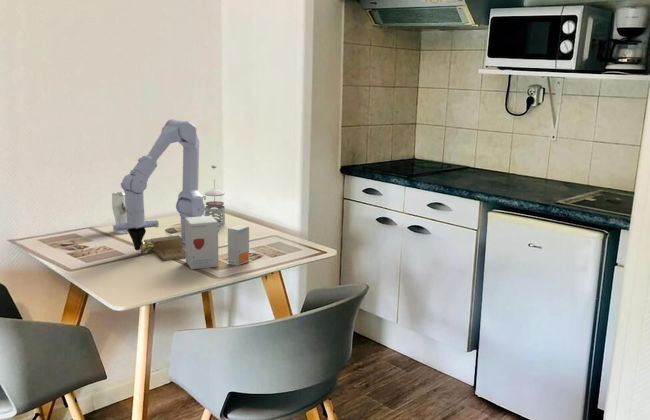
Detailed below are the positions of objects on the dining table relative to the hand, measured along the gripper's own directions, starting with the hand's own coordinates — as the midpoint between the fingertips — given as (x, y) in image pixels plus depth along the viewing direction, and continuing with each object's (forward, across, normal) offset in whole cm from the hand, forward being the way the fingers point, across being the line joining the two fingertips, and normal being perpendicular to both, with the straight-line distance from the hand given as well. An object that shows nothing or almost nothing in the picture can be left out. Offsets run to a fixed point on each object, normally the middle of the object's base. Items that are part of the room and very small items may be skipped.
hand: (137, 249), depth 200 cm
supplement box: (+2, +15, -21) cm, 26 cm away
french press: (+2, +35, +22) cm, 42 cm away
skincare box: (+2, +26, -25) cm, 36 cm away
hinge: (+1, +10, 0) cm, 10 cm away
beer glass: (+2, +2, +30) cm, 30 cm away
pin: (+1, +6, 0) cm, 7 cm away
